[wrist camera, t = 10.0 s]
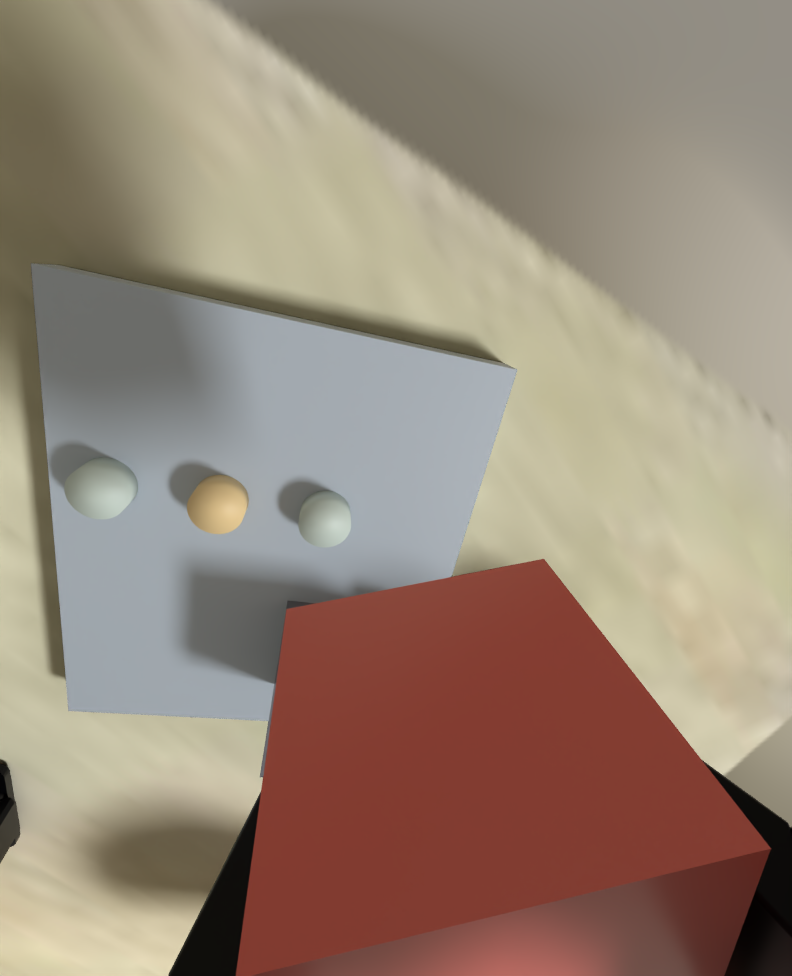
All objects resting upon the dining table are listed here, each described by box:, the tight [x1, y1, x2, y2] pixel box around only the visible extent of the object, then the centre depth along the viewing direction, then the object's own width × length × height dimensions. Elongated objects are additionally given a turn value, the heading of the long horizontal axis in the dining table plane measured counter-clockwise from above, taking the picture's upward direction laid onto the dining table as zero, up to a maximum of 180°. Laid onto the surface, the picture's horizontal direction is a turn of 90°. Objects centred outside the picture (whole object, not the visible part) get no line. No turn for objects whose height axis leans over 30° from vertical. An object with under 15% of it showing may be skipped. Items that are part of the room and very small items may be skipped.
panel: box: [31, 263, 517, 721], centre depth 18 cm, size 16×19×4 cm
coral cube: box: [236, 559, 771, 976], centre depth 7 cm, size 5×5×5 cm
